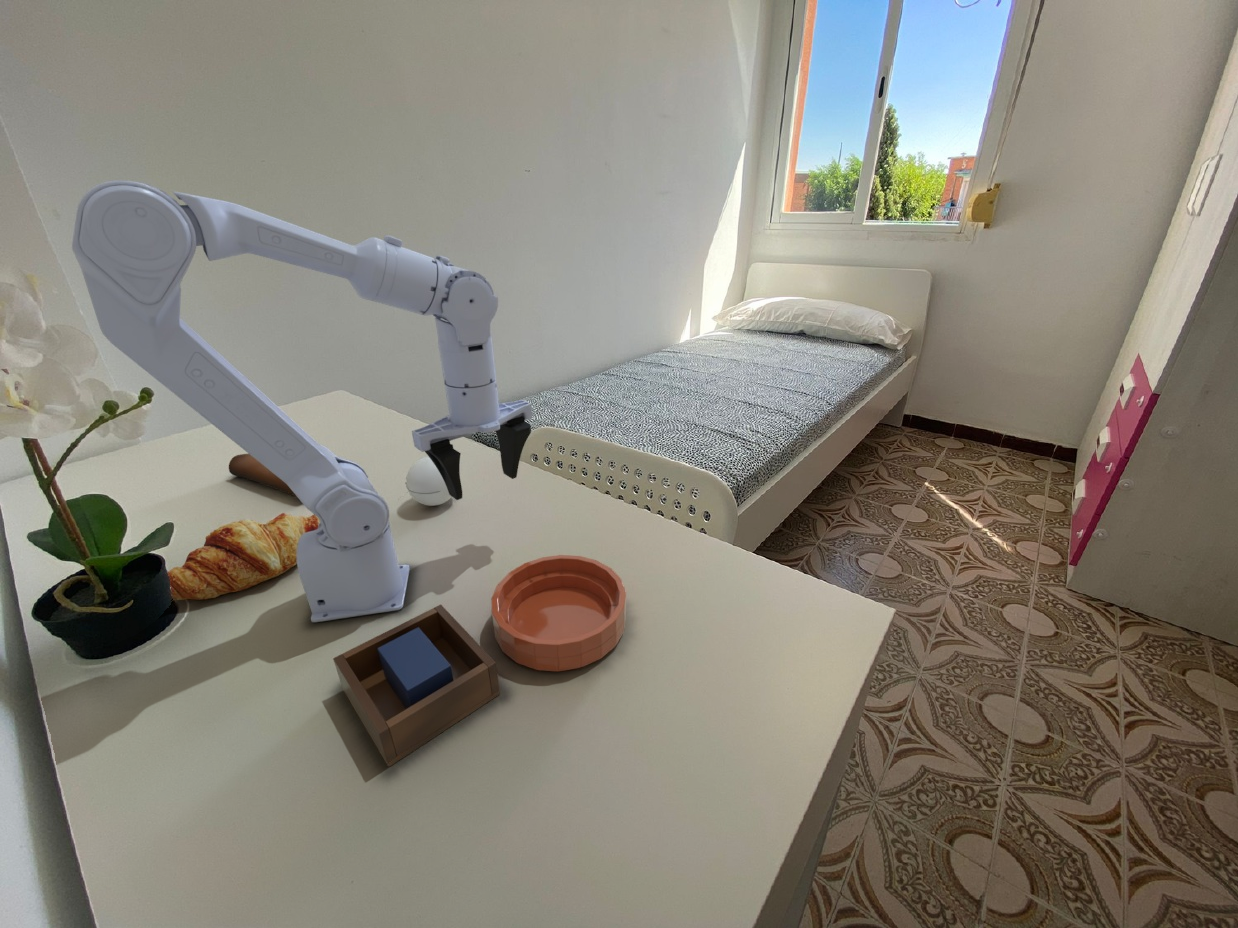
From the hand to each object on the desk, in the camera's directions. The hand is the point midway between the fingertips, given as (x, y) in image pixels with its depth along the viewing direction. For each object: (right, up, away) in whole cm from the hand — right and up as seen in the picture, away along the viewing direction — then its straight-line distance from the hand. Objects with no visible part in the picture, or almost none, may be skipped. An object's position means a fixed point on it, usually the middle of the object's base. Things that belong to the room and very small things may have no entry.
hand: (483, 485), depth 68 cm
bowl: (+10, -15, -8) cm, 20 cm away
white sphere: (-12, -4, +14) cm, 19 cm away
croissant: (-28, -11, 0) cm, 30 cm away
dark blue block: (-2, -18, -17) cm, 25 cm away
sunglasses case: (-37, 0, +21) cm, 42 cm away
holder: (-2, -19, -16) cm, 25 cm away
